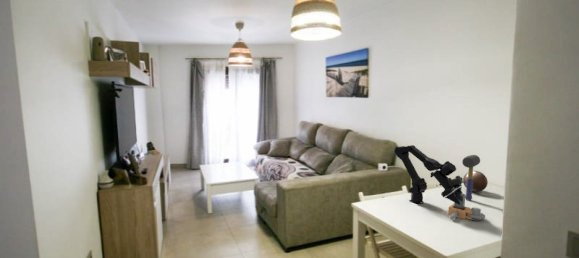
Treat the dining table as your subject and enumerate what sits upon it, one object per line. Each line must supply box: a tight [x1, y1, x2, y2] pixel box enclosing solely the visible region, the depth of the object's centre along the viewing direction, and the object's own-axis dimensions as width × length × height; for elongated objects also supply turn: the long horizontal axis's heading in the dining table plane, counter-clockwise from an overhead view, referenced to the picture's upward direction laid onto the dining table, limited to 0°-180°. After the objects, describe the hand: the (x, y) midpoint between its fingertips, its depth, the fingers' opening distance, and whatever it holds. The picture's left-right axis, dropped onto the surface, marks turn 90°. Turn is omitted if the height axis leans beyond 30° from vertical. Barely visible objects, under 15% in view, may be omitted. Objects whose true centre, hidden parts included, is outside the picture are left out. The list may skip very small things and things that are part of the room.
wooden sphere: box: [462, 170, 489, 193], centre depth 219 cm, size 15×15×15 cm
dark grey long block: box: [453, 192, 466, 210], centre depth 176 cm, size 4×4×12 cm
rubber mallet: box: [462, 154, 481, 201], centre depth 200 cm, size 12×8×30 cm, turn 130°
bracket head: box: [447, 203, 486, 222], centre depth 171 cm, size 17×16×6 cm
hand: (462, 202), depth 175 cm, fingers open, 9 cm apart
